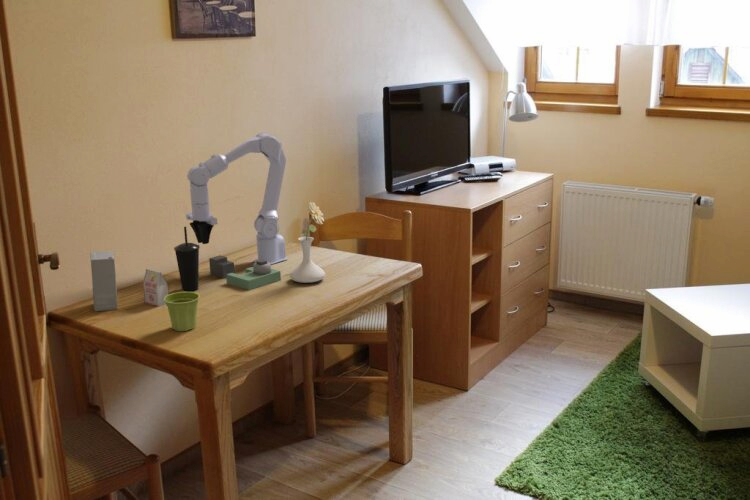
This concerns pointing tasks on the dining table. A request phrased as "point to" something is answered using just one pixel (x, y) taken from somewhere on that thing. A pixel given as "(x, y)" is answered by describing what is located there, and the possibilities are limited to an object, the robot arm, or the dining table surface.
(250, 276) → the sage green base plate
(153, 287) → the white printed carton
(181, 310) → the plant pot
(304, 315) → the dining table surface
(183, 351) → the dining table surface
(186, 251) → the drinking cup
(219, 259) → the notched gray block
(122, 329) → the dining table surface
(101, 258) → the skincare box
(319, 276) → the flower in vase
